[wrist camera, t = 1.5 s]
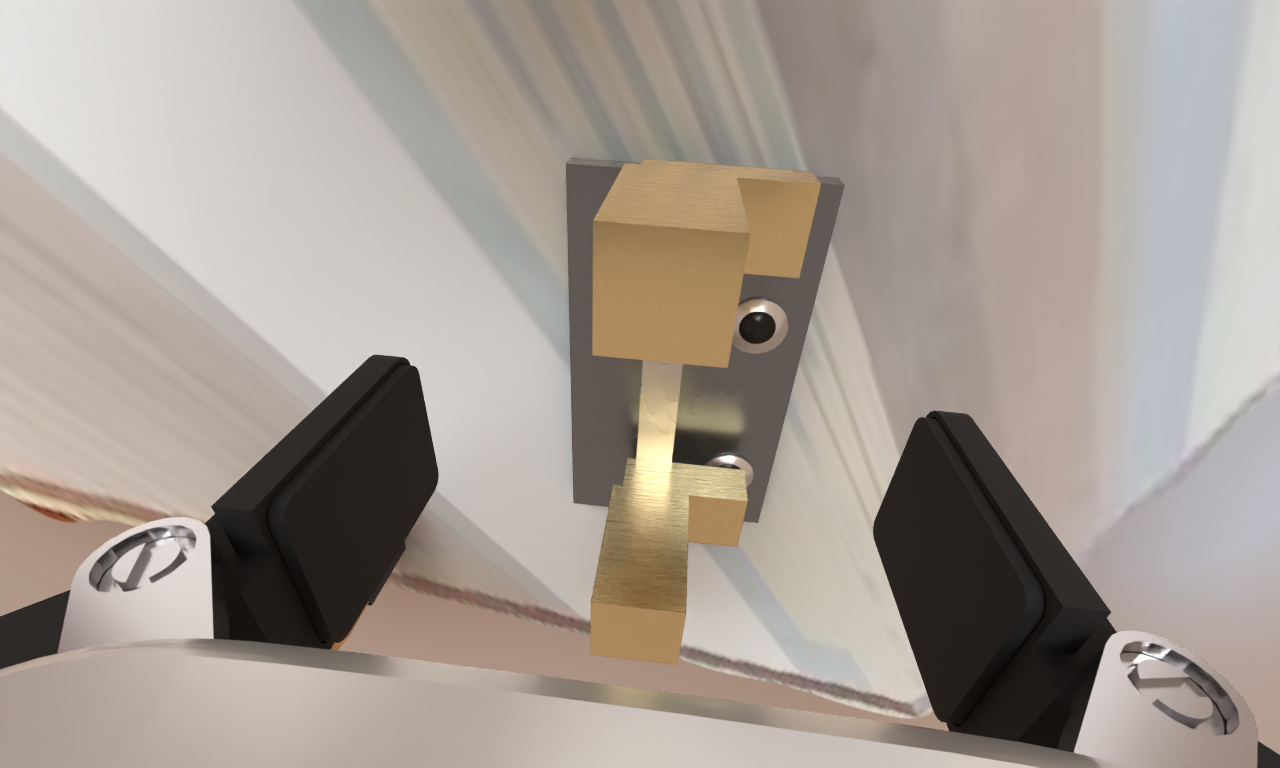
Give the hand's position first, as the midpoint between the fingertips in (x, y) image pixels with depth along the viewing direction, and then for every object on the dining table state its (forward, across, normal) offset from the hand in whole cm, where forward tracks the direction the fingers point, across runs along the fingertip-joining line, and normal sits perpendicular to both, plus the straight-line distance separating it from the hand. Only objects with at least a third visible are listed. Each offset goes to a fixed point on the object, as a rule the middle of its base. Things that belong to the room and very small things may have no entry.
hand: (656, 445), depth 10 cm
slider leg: (+16, -1, -1) cm, 16 cm away
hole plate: (+18, -1, +9) cm, 20 cm away
